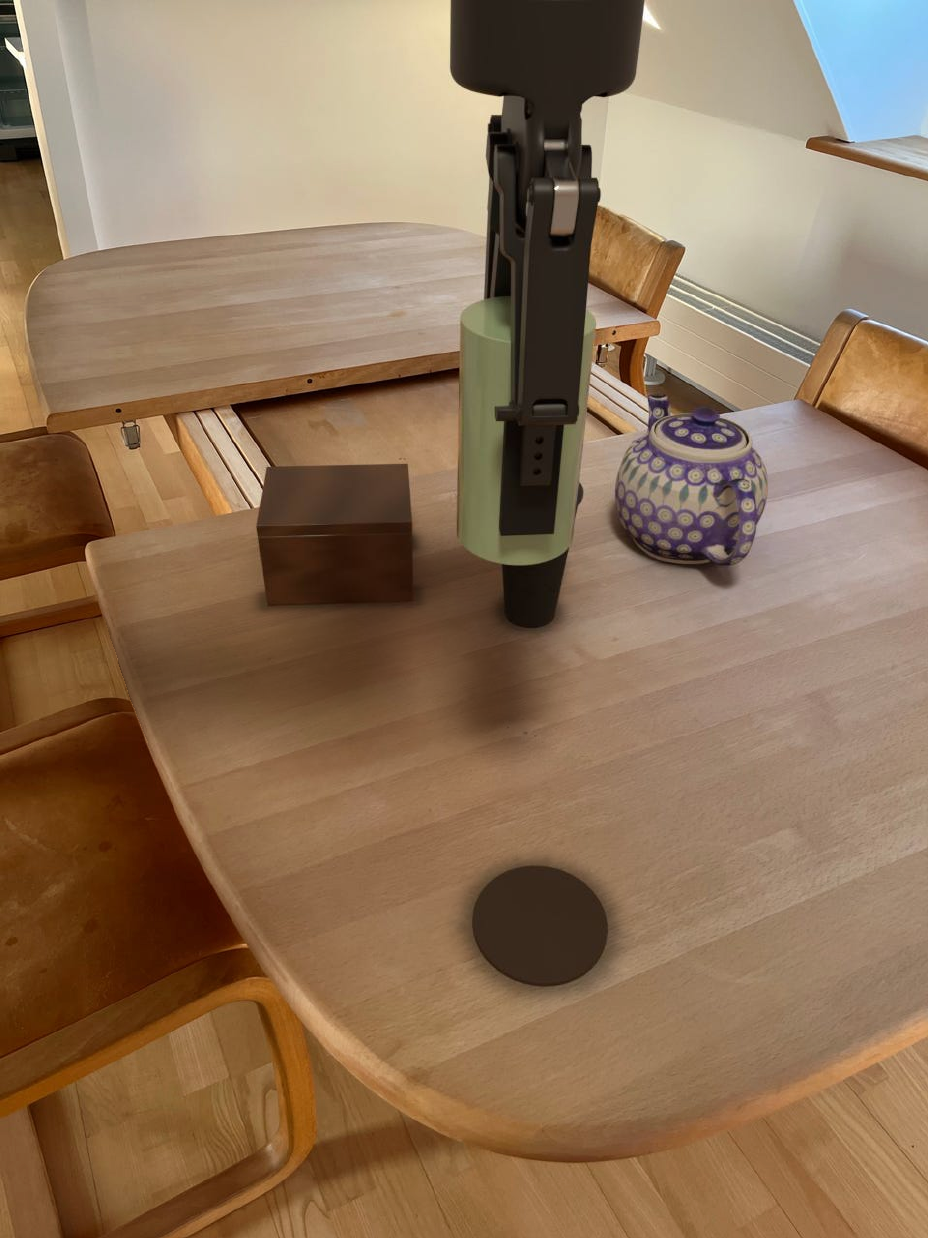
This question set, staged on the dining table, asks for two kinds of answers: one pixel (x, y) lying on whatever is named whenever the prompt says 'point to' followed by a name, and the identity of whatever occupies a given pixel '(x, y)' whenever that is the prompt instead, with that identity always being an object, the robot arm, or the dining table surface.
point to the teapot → (691, 487)
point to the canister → (483, 440)
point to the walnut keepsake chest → (336, 534)
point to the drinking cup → (534, 588)
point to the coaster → (540, 925)
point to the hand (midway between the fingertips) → (516, 494)
